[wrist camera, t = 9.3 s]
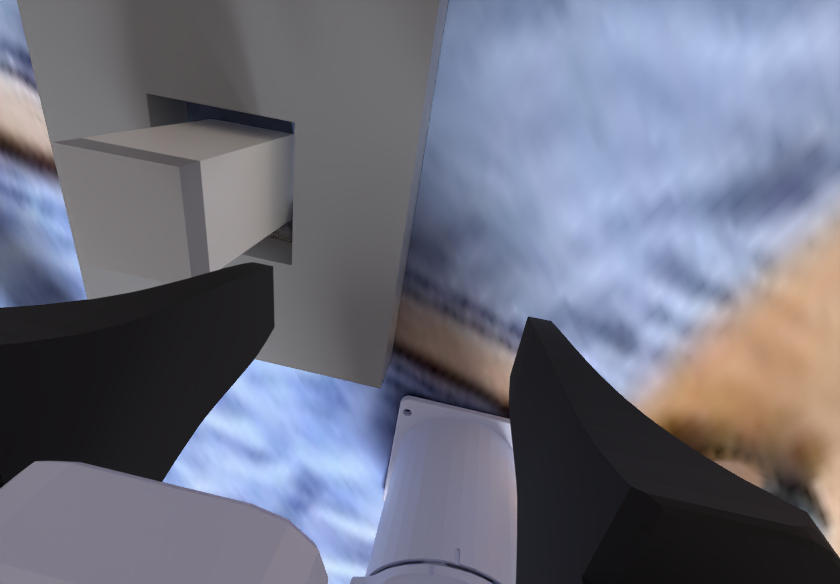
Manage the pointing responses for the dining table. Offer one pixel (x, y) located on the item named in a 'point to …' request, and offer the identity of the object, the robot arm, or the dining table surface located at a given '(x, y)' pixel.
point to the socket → (281, 99)
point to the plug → (175, 195)
